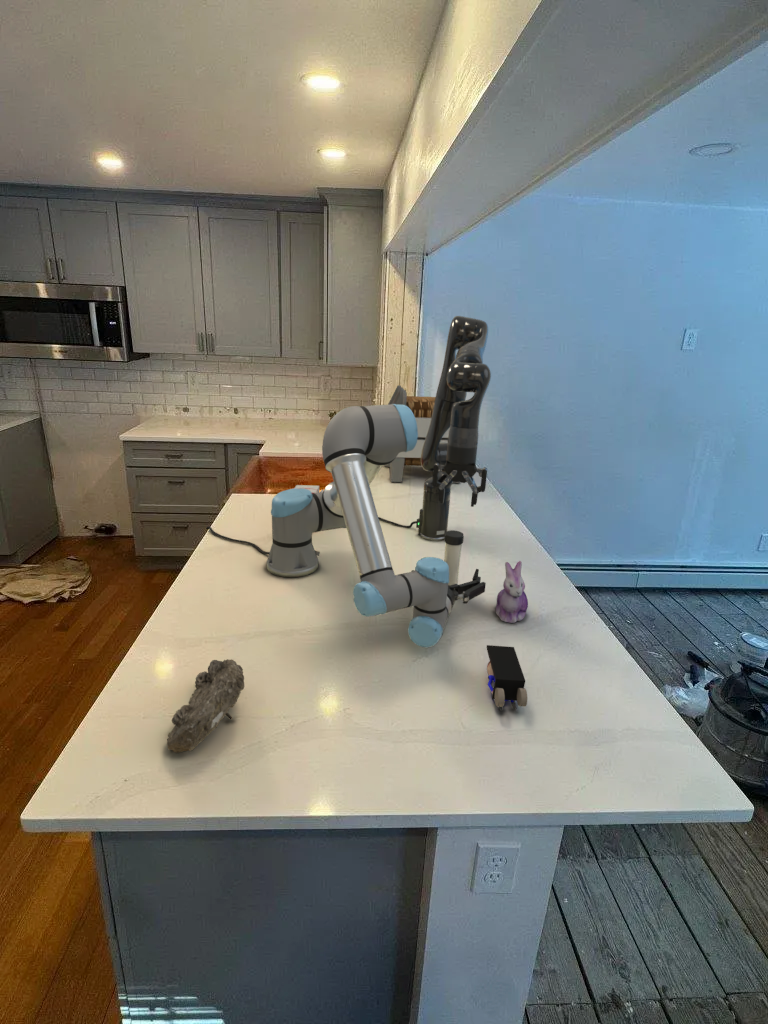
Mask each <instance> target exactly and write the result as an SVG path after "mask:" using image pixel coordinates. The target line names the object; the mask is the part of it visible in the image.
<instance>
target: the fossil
mask: <svg viewBox="0 0 768 1024" xmlns="http://www.w3.org/2000/svg"><path fill="white" fill-rule="evenodd" d="M243 670H244V669H243V667H242V665H240V664H237V662H236V661H235V660H234V659H232V658H231V659H227V658H226V659H224V660H223V661H222V660H217V659H212V660H211V661H210V663H209V665H208V666H207V671H201V672H199V673H198V674H197V675H196V676H195V680H194V684H195V685H194V687H195V689H194V690H193V693H192V694H191V697H190V698H189V700H188V704H184V705H182V706H181V707H180V709H177V710H176V711H175V713H174V715H173V716H172V718H171V723H172V724H173V727H172V730H171V731H170V732H168V734H167V738H166V741H167V742H166V745H167V749H168V750H169V751H173V752H174V753H176V754H178V753H182V752H188V751H189V752H192V751H193V750H195V748H196V747H197V746H199V744H200V743H201V742H203V741H204V740H205V739H206V738H207V737H208V736H209V735H210V734H211V733H212V732H214V730H215V729H217V727H218V726H219V724H220V722H221V721H222V720H223V719H224V718H225V716H226V717H227V719H229V720H233V717H232V715H230V714H229V710H230V709H231V708H234V706H235V704H236V703H237V702H238V699H239V697H240V695H241V693H242V691H243V690H245V689H244V688H245V675H244V671H243Z"/></svg>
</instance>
